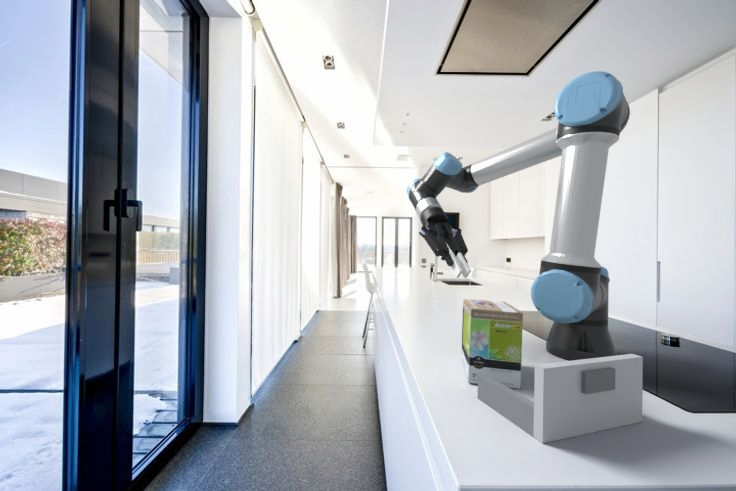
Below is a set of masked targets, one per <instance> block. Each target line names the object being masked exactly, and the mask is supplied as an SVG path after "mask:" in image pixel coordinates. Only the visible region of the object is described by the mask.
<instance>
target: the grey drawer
mask: <svg viewBox="0 0 736 491" xmlns="http://www.w3.org/2000/svg"><path fill="white" fill-rule="evenodd" d="M643 362H644V357H643V356H641V355H638V354H635V353H627V354H619V355H618V354H617V356H608V357H599V358H590V359H581V360H566V361H558V362H549V363H540V364H534V380H533V381H534V382H533V383H534V388H533V400H531V399H529V398H528V397H526V396H524V395H523V394H521V393H519V392H517V391H515V390H513V388H508V387H507V386H505V385H503V384H501V383H500V382H498V381H496V380H494V379H492V378H491V377H489V376H487V375H485V374H484V375H478V384H477V400H480V401H481V402H483V404H485V405H487V406H488V407H490V408H491V409H492V410H494V411H495V412H497V413H499V415H501V416H503V417H504V418H506V419H507V420H508V421H510V422H512V423H513V424H514V426H515V425H516V426H517V427H518V428H520V429H521V430H523V431H524V432H525V433H527V434H528V435H530V436H531V437H532V438H534V439H535V440H537V441H538V442H539V443H541V444H546V443H551V442H556V441H561V440H563V439H565V440H566V439H569V438H573V437H574V438H575V437H579V436H583V435H589V434H593V433H598V432H602V431H606V430H611V429H616V428H620V427H624V426H630V425H634V424H637V423H642V422H643V391H644V390H643V388H644V386H643V378H644V377H643V374H644V373H643V372H644V371H643V370H644V369H643V368H644V367H643V366H644V363H643Z"/></svg>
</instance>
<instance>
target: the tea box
mask: <svg viewBox="0 0 736 491" xmlns="http://www.w3.org/2000/svg"><path fill="white" fill-rule="evenodd" d="M523 319H524V314H523V311H521V310H519V309H518V308H516V307H514V306H513V305H512V304H509V303H508V302H506V301H500V300H499V301H498V300H487V299H486V300H485V299H468V298H467V299H466V298H464V299H463V302H462V327H461V350H460V351H461V352H460V353H461V354H460V355H461V356H460V357H461V361H462V365H463V369H464V372H465V376H466V380H467V382H468V383H470V384H474V385H478V375H484V374H485V375H487V376H489V377H491V378H492V379H494V380H496V381H498V382H500V383H501V384H503V385H505V386H507V387H508V388H510V389H520V388H521V385H522V382H521V380H522V362H523V361H522V356H523V354H522V353H523V352H522V350H523V328H524V327H523V324H524V320H523Z"/></svg>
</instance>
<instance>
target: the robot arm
mask: <svg viewBox="0 0 736 491" xmlns="http://www.w3.org/2000/svg"><path fill="white" fill-rule="evenodd" d="M553 112H554V116H555V119H556V120H557V122H558V124H557V127H555V128H552V129H550V130H548V131H545V132H544V133H541V134H539V135H536V136H534V137H532V138H529V139H527V140H525V141H522V142H520V143H517V144H516V145H513V146H511V147H508V148H506V149H504V150H501V151H499V152H497V153H494V154H492V155H489V156H488V157H485V158H483V159H481V160H478V161H476V162H474V163H472V164H469V165H467V166H464V167H463V163H462V162H461V160H459V159H458V158H457V157H456V156H454V155H453V154H452V153H450V152H447V151H443V153H441V155H440V156H439V157H438V158H437V159H436V160H434V162H433V164H432V165H431V166H430V168H429V169H428V170H426V172H425V174H424V175H423V176H422V178H415V179H414V180H411V181H410V182H409V183H408V185H407V187H406V193H407V196H408V199H409V201H410V202H411V204H412V206H413V208H414V210H415V212H416V215H417V217H418V218H419V220H420V223H421V225H422V226H421V228H420V230H419V232H418V235H420V236H421V237H422V238H423V239H424V240H425V242H426V244H427V246H429V248H430V249H431V251H432V252H433V254H434V255H435V257H437V258H438V257H439V258H440V257H441V258H440V260H441V261H445V263H446V264H447V266H448V267H450V269H451V271H452V273H453V275H454V277H455V278H456V279H458V278H460V276H461V275H462V277H463V278H464V279H466V278H468V276H469V275H470V274H471V272H472V269H471V268H470V266H469V264H468V260H467V258H466V255H467V253H468V251H469V250H468V247H467V244H466V242H465V240H464V237H463V235H462V229H461V228H459V227H458V228H457V229H455V228H453V226H452V225H451V224H450V223H449V219H448V216H447V214H446V212H445V211H444V209H443V207H442V206H441V204H440V202H439V201H438V199H437V197H438V196H439V195H440V194H441V193H442V192H443V191H444V190H445V189H446V188H448V189H451V190H454V191H457V192H459V193H464V194H465V193H466V194H470V193H474V192H475V191H476V190H477V189H478V188H479V187H480V186H483V185H486V184H488V183H490V182H491V183H492V181H496V180H498V179H500V178H504V177H506V176H509V175H512V174H515V173H518V172H520V171H523V170H526V169H529V168H532V167H534V166H537V165H539V164H543V163H545V162H548V161H550V160H553V159H556V158H558V157H561V159H560V168H559V169H560V170H559V177H558V183H557V184H558V185H557V192H556V200H555V208H554V214H553V215H554V216H553V222H552V223H553V224H552V230H551V231H552V232H551V237H550V245H549V252H548V254H546V255H545V256H543V257H542V258H541V261H540V268H539V272H538V276H537V277H536V278H535V280H534V281H533V282H532V284H531V288H530V298H531V301H532V302H531V303H532V304H533V305H534V307H535V309H536V310H537V312H539V313H540V314H541V316H543V317H545V318H546V319H548V320H550V321H553V322H552V323H553V324H552V325H551V328H550V330H549V333H548V335H547V336H548V338H547V339H546V341H545V350H546V351H547V352H548V353H549V354H551V355H553V356H556V357H558V358H561V359H565V360H567V361H572V360H581V359H590V358H599V357H608V356H617V355H618V354H617V350H616V347H615V344H614V341H613V338H612V335H611V332H610V330H609V294H610V292H609V287H610V286H609V284H610V280H611V279H610V277H609V276H610V275H609V271H608V269H607V268H606V267H604V266H602V265H601V263H599V262H598V261H597V259H596V258H595V254H596V253H595V252H596V247H597V246H596V245H597V239H598V229H599V225H600V224H599V223H600V216H601V211H602V210H601V209H602V201H603V194H604V186H605V180H606V179H605V178H606V174H607V173H606V171H607V166H608V165H607V164H608V158H609V149H610V148H611V147H612V146H614V145H615V144H616V143H617V142H618V141H620V135H621V133H622V132H623V131H624V129H625V128H626V126H627V124H628V122H629V120H630V115H631V109H630V105H629V102H628V101H627V98H626V96H625V94H624V87H623V85H622V83H621V81H620V80H618V79H617V77H616V76H614V75H613V74H611V73H610V72H607V71H599V70H597V71H590V72H589V71H588V72H586V73H583V74H581V75H579V76H576V77H575V78H573V79H571V80H570V81H569V82H568V83H567V84H566V85H565V86H563V88H561V89H560V91H559V93H558V94H557V96H556V98H555V101H554V104H553ZM450 251H451V252H450Z"/></svg>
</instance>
